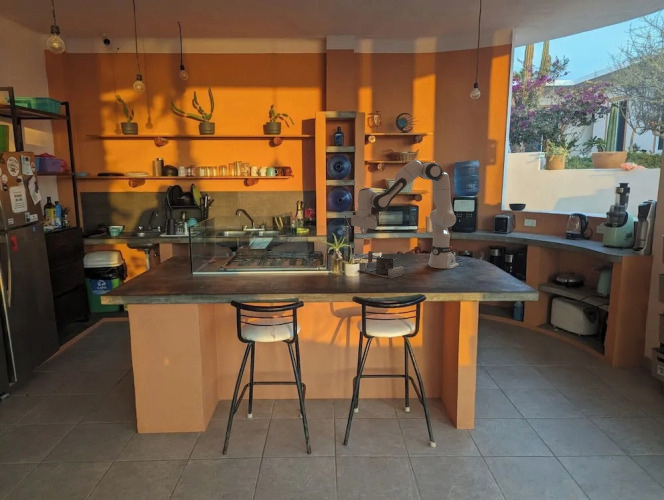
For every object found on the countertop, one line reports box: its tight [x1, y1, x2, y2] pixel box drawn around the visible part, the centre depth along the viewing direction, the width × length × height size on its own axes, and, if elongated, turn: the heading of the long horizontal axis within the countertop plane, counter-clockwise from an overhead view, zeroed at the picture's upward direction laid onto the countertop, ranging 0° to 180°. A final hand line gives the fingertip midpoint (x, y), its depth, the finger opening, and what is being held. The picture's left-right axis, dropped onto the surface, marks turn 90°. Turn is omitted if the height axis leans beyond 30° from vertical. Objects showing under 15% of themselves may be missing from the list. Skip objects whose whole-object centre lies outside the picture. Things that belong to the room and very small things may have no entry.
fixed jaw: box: [359, 265, 405, 279], centre depth 285 cm, size 16×26×6 cm, turn 43°
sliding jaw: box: [364, 250, 377, 272], centre depth 290 cm, size 12×4×12 cm, turn 133°
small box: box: [375, 256, 394, 276], centre depth 282 cm, size 11×6×10 cm, turn 84°
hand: (363, 234), depth 292 cm, fingers closed
